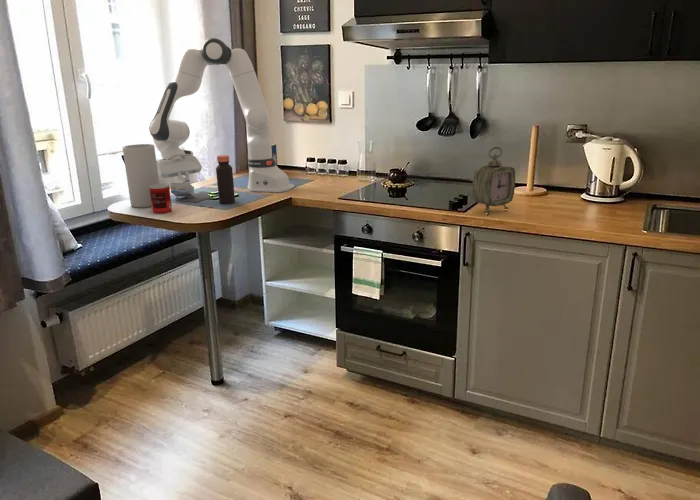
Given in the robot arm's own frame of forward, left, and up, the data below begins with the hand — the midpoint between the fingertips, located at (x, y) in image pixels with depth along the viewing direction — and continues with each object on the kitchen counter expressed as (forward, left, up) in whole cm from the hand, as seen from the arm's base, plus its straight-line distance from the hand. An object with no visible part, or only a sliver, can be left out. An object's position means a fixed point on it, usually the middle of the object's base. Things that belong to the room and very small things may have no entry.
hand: (186, 181), depth 256 cm
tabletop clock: (-132, -21, -7) cm, 134 cm away
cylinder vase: (+6, +19, -7) cm, 21 cm away
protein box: (-2, -57, -7) cm, 57 cm away
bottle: (-24, +3, -7) cm, 26 cm away
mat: (-6, -1, -7) cm, 9 cm away
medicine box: (0, +1, -5) cm, 5 cm away
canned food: (-9, +26, -7) cm, 29 cm away
